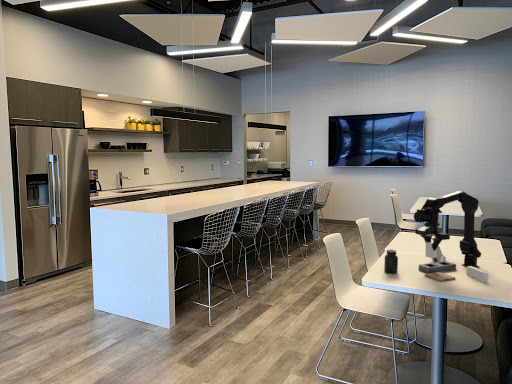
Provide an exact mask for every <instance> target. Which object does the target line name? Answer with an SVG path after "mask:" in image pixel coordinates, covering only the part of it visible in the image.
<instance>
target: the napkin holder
mask: <svg viewBox="0 0 512 384" xmlns="http://www.w3.org/2000/svg"><path fill="white" fill-rule="evenodd" d="M466 276H467V277H470V278H473V279H475V280H476V281H479V282H482V283H488V279H489V272H488V271H485V270H483V269H480V268H479V267H476V268H475V267H472V266H467V267H466Z"/></svg>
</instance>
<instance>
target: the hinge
mask: <svg viewBox="0 0 512 384" xmlns="http://www.w3.org/2000/svg"><path fill="white" fill-rule="evenodd" d="M446 259H447V258H446V255H445V254H443V253H442V248H441V246H439V245H438V247H437V257H435V258H431V260H432V263H435V262H443V261H446Z"/></svg>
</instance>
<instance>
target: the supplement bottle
mask: <svg viewBox="0 0 512 384" xmlns="http://www.w3.org/2000/svg"><path fill="white" fill-rule="evenodd" d="M383 266H384V268H383V270H384V273H385V274H389V275H392V274H393V275H395V274H397V273H398V272H399V271H398V270H399V267H398V266H399V256H397V250H396V249H395V250H394V249H387V250H386V254H385V255H384V265H383Z"/></svg>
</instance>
